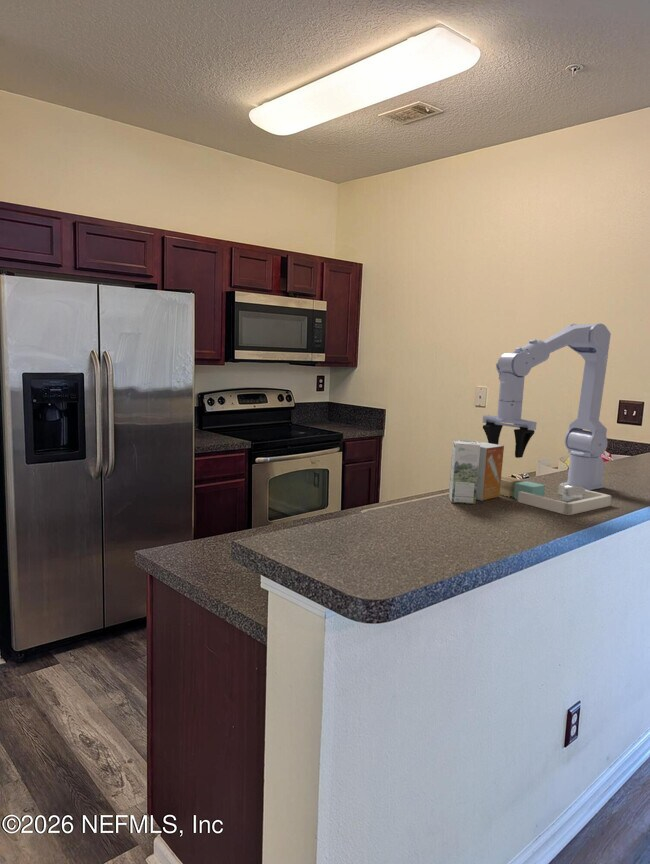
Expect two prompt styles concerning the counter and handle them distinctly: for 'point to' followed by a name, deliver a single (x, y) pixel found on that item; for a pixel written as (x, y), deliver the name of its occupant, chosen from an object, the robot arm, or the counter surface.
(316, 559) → the counter surface
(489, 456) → the small box
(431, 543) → the counter surface
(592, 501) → the frame
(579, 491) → the aluminium part
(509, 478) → the oak block
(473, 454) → the syrup box
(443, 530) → the counter surface
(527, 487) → the teal block
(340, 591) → the counter surface
